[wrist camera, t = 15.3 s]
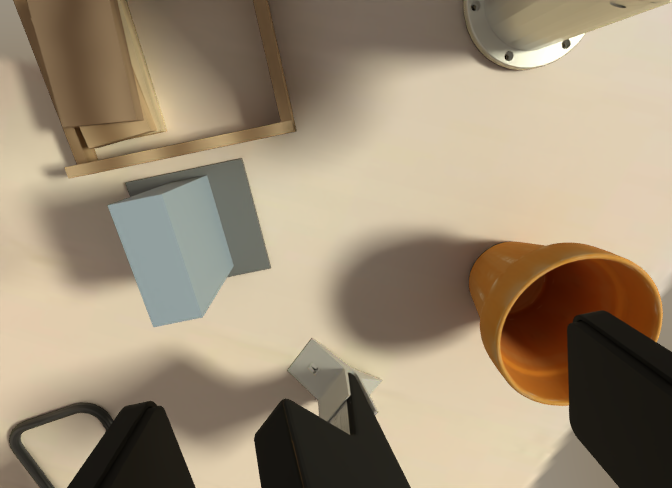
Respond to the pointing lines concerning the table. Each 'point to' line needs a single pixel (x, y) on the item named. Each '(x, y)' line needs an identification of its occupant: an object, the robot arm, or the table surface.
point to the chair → (35, 422)
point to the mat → (225, 210)
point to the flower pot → (553, 307)
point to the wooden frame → (91, 164)
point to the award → (327, 431)
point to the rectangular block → (174, 248)
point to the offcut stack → (96, 69)
